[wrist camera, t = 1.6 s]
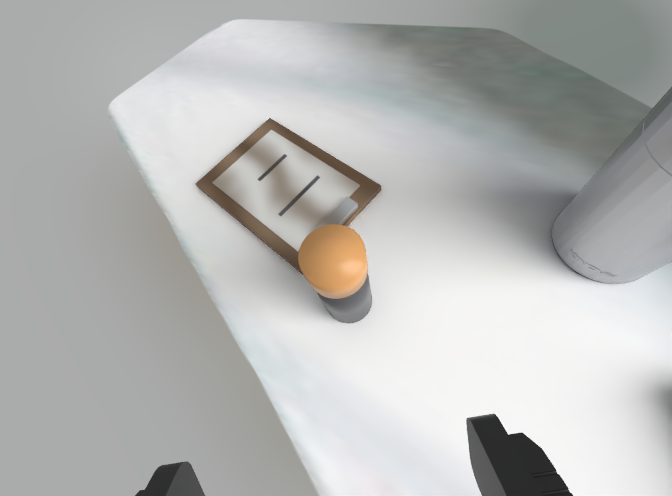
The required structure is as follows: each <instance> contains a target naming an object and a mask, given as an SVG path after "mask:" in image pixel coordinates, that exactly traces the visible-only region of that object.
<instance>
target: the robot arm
mask: <svg viewBox="0 0 672 496" xmlns="http://www.w3.org/2000/svg"><path fill="white" fill-rule="evenodd" d="M552 239H553V244H554V246H555V248H556V251H557V253H558V254H559V255H560V257H561V258H562V260H563V261H564V262H565V263H566V264H567V265H568V266H569V267H571V268H572V269H573V270H575V271H576V272H578V273H579V274H581V275H583V276H585V277H587V278H590V279H592V280H596V281H599V282H603V283H611V284H619V283H627V282H631V281H635V280H637V279H639V278H641V277H643V276H645V275H647V274H649V273H651V272H653V271H654V270H656V269H658V268H660V267H662V266H664V265H666V264H669V263H671V262H672V87H671V88H670V89H669V90H668V92H667V93H666V94H665V95H664V96H663V97H662V98H661V100H660V101H659V102H658V103H657V104H656V105H655V107H653V109H652V110H651V111H650V112H649V114H648V115H647V116H646V117H645V118H644V119H643V120H642V121H641V123H640V124H639V125H638V126H637V127H636V128H635V129H634V131H633V132H632V133H631V134H630V135H629V136H628V137H627V139H626V140H625V141H624V142H623V143H622V144H621V145H620V146H619V148H618V149H617V150H616V151H615V152H614V153H613V154H612V156H611V157H610V158H609V159H608V160H607V161H606V162H605V163H604V165H603V166H602V167H601V168H600V169H599V170H598V171H597V173H596V174H595V175H594V176H593V177H592V178H591V179H590V180H589V182H588V183H587V184H586V185H585V186H584V187H583V188H582V190H581V191H580V192H579V193H578V194H577V195H576V196H575V197H574V198H573V200H572V201H571V202H570V203H569V204H568V205H567V206H566V208H565V209H564V210H563V211H562V212H561V213H560V214H559V216H558V217H557V218H556V220H555V222H554V225H553V227H552ZM467 432H468V442H469V452H470V460H471V465H472V469H473V472H474V476H475V479H476V482H477V484H478V487H479V489H480V492H481V494H482V496H573V495H572V493H570V492H569V490H568V487H567V486H566V484H565V483H564V481H563V480H562V478H561V477H560V475H559V474H557V472H556V469H555V468H554V466H553V465H552V463H551V462H550V460H549V459H548V457H547V456H546V454H545V453H544V451H543V450H542V448H540V447H539V446H538V445H537V444H535V443H534V442H533V441H532V440H531V439H529V438H528V437H527V436H526V435H525V434H523V433H516V434H510V435H508V434H507V432H506V430H505V429H504V427H503V425H502V424H501V422H500V420H499V419H498V417H497V416H496V415H495V414H489V415H483V416H477V417H470V418H467ZM135 496H205V495H204V492H203V490H202V488H201V486H200V484H199V481H198V479H197V477H196V475H195V473H194V470H193V468H192V466H191V464H190V463H189V462H180V463H174V464H168V465H162V466H160V467H158V469H157V470H156V471H155V472H154V474H153V476H152V478H151V480H150V481H149V483H148V485H147V487H146V489H145V490H140V491H139V492H138V493H137V494H136V495H135Z"/></svg>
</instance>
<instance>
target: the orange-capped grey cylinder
mask: <svg viewBox="0 0 672 496" xmlns="http://www.w3.org/2000/svg"><path fill="white" fill-rule="evenodd" d="M298 262H299V266H300V269H301V271H302V272H303V274H304V276H305V277H306V279H307V280H308V282H309V283H310V285H311V286H312V288H313V289H314V290H315V291H316V292H317V293H318V295H319V297H320V298H321V300H322V301H323V303H324V304H325V306H326V307H327V309H328V311H329V312H330V314H331V315H332V316H333V317H334V318H335V319H336V320H338V321H340V322H343V323H354V322H357V321H360V320H361V319H363V318H364V317H365V316H366V315H367V314H368V312H369V311H370V308H371V305H372V296H371V290H370V284H369V278H368V264H367V257H366V251H365V246H364V243H363V241H362V239H361V237H360V236H359V235H358V234H357V233H356V232H355V231H354V230H352V229H351V228H349V227H347V226H343V225H339V224H330V225H325V226H321V227H319V228H317V229H315V230H314V231H312V232H311V233H310V234H309V235H307V237H306V238H305V239H304V241H303V242H302V244H301V246H300V249H299V253H298Z"/></svg>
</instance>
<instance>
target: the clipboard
mask: <svg viewBox="0 0 672 496" xmlns="http://www.w3.org/2000/svg"><path fill="white" fill-rule="evenodd" d="M196 185H197V186H198V188H200V189H201V190H202V191H203V192H204V193H206V194H207V195H208V196H209V197H210V198H212V199H213V200H214V201H215V202H216V203H218V204H219V205H220V206H221V207H223V208H224V209H225V210H226V211H227V212H229V213H230V214H231V215H232V216H233V217H235V218H236V219H237V220H238V221H239V222H241V223H242V224H243V225H244V226H245V227H247V228H248V229H249V230H250V231H251V232H253V233H254V234H255V235H256V236H257V237H259V238H260V239H261V240H262V241H263V242H265V243H266V244H267V245H268V246H269V247H271V248H272V249H273V250H274V251H275V252H277V253H278V254H279V255H280V256H281V257H283V258H284V259H285V260H286V261H288V262H289V263H290V264H291V265H292V266H294V267H295V268H296V269H297V270H298V271H300V272H301V273H302V274H303V272H302V271H301V269H300V266H299V262H298V253H299V249H300V246H301V244H302V242H303V241H304V239H305V238H306V237H307V235H309V234H310V233H311V232H312V231H314V230H315V229H317V228H319V227H321V226H325V225H330V224H339V225H343V226H348V225H349V224H350V223H351V222H352V221H353V220H354V218H355V217H356V216H357V215H358V214H359V213H360V212H361V211H362V210H363V209H364V208H365V207H366V206H367V204H368V203H369V202H370V201H371V200H372V199H373V198H374V197H375V196H376V195H377V194H378V193H379V192H380V190H381V185H379V184H377V183H376V182H374V181H372V180H371V179H369V178H367V177H366V176H364V175H363V174H361V173H359V172H358V171H356V170H354V169H353V168H351V167H349V166H348V165H346V164H344V163H343V162H341V161H340V160H338V159H336V158H335V157H333V156H331V155H330V154H328V153H326V152H325V151H323V150H321V149H320V148H318V147H317V146H315V145H313V144H312V143H310V142H308V141H307V140H305V139H303V138H302V137H300V136H298V135H297V134H295V133H294V132H292V131H290V130H289V129H287V128H285V127H284V126H282V125H280V124H279V123H277V122H275V121H274V120H272V119H271V118H269V119H268V120H267V121H266V122H265V123H264V124H263V125H261V126H260V127H259V128H258V129H257V130H256V131H255V132H254V133H252V134H251V135H250V136H249V137H248V138H247V139H246V140H244V141H243V142H242V143H241V144H240V145H239V146H238V147H237V148H235V149H234V150H233V151H232V152H231V153H230V154H229V155H228V156H226V157H225V158H224V159H223V160H222V161H221V162H220V163H218V164H217V165H216V166H215V167H214V168H213V169H212V170H211V171H209V172H208V173H207V174H206V175H205V176H204V177H203V178H202V179H200V180H199V181H198V182H197V183H196Z"/></svg>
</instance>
